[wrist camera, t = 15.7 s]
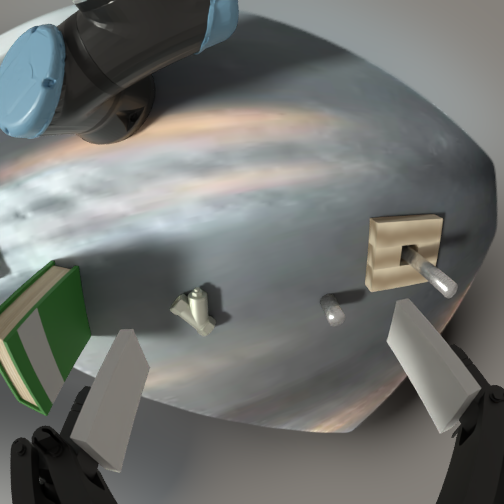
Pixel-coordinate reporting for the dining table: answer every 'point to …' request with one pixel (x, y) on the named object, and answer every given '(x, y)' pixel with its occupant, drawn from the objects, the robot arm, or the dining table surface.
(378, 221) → the hole plate
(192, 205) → the dining table surface
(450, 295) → the long pin
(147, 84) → the robot arm
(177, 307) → the pipe fitting
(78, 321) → the hardback book
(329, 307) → the short pin
